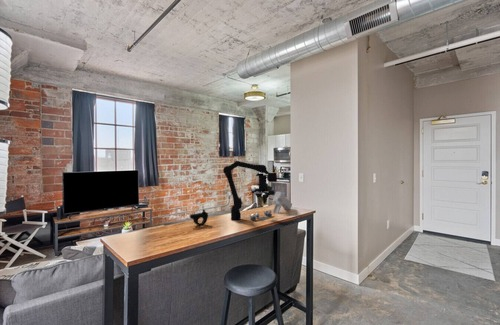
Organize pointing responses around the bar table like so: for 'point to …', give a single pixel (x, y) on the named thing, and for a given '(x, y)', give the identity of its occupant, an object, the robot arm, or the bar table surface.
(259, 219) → the pad
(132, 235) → the bar table surface
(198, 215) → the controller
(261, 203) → the olive green rounded lump
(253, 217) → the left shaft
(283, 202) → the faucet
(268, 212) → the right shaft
